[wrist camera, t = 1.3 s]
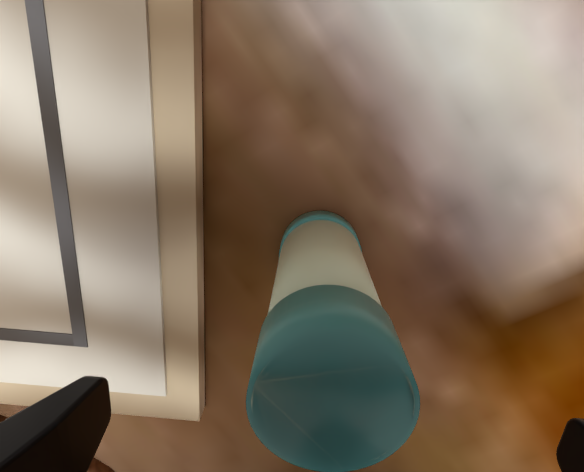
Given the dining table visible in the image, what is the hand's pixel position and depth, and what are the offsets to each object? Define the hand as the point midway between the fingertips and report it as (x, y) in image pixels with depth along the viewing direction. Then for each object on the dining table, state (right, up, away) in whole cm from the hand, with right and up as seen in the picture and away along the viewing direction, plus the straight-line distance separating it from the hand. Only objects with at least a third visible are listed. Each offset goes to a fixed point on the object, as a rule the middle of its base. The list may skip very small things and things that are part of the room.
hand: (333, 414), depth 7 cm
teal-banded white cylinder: (0, +3, +9) cm, 9 cm away
